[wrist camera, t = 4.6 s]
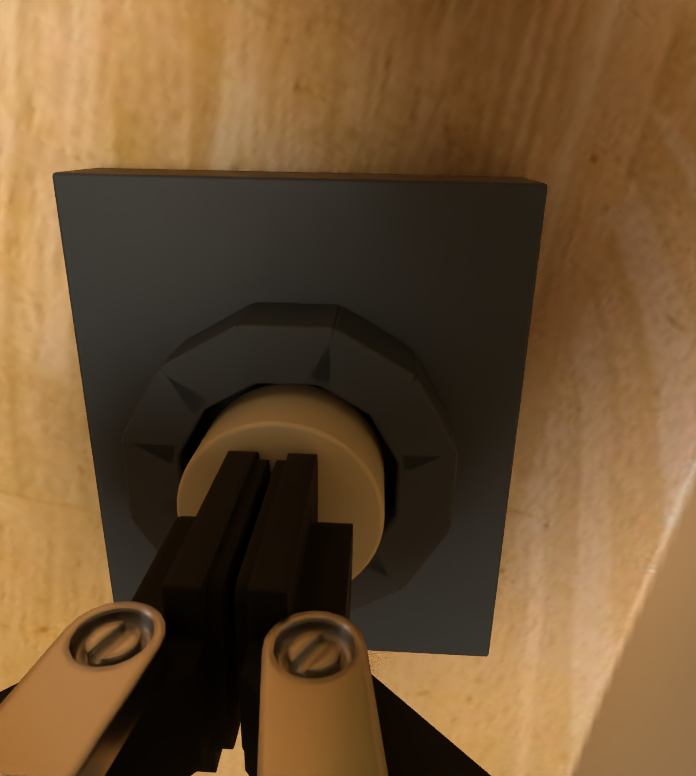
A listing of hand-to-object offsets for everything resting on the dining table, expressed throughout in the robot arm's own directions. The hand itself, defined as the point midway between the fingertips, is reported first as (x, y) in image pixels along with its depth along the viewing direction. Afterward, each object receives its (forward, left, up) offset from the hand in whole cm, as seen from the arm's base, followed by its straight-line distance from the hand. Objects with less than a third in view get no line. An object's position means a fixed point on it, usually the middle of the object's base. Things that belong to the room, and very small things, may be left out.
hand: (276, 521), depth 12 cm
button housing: (0, 0, -5) cm, 5 cm away
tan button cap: (0, 0, -2) cm, 2 cm away
